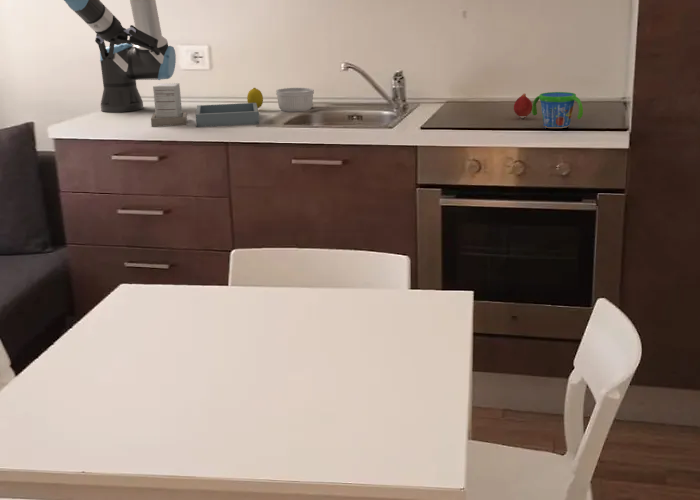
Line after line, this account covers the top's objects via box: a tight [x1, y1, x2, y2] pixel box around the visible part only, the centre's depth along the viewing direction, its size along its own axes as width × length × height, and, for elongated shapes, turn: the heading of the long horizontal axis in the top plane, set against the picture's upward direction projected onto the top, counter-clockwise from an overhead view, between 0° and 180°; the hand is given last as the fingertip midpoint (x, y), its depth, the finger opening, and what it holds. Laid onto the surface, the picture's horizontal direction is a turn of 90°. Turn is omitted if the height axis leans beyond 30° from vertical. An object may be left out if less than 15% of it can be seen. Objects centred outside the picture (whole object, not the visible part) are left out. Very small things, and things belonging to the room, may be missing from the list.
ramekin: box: [275, 87, 315, 113], centre depth 310 cm, size 13×13×7 cm
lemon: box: [246, 87, 264, 109], centre depth 310 cm, size 6×6×8 cm
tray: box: [195, 102, 260, 128], centre depth 292 cm, size 20×20×4 cm
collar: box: [150, 111, 188, 127], centre depth 291 cm, size 11×11×2 cm
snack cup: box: [531, 91, 584, 127], centre depth 261 cm, size 16×10×10 cm
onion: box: [513, 93, 533, 117], centre depth 279 cm, size 6×6×8 cm
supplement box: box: [152, 82, 183, 118], centre depth 289 cm, size 7×7×13 cm
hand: (144, 64), depth 281 cm, fingers open, 13 cm apart
